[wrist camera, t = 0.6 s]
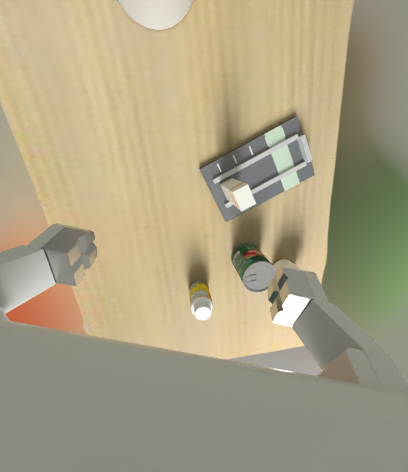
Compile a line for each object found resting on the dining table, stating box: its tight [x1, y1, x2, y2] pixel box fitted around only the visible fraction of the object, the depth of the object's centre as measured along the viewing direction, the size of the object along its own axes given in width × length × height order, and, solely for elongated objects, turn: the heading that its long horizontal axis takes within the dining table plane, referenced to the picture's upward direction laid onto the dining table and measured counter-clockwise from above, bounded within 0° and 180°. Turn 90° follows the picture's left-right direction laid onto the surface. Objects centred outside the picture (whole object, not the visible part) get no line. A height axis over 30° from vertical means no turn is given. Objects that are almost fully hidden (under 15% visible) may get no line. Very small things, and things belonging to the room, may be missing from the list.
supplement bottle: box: [189, 282, 213, 320], centre depth 56 cm, size 6×6×10 cm
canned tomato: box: [231, 243, 276, 292], centre depth 54 cm, size 8×8×11 cm
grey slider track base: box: [200, 116, 315, 222], centre depth 50 cm, size 14×24×3 cm, turn 117°
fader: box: [220, 178, 256, 211], centre depth 45 cm, size 4×3×12 cm
